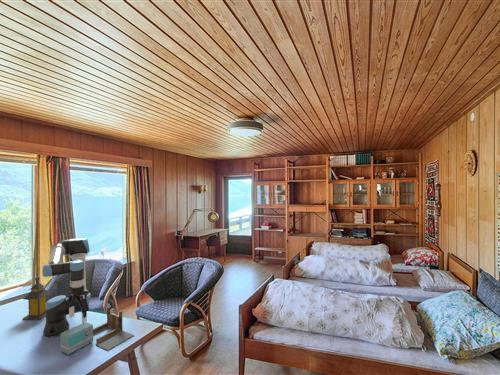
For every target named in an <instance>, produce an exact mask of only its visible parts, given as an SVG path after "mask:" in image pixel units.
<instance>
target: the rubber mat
mask: <svg viewBox="0 0 500 375" xmlns="http://www.w3.org/2000/svg"><path fill="white" fill-rule="evenodd" d="M133 337H135V335H134V334H133V333H129V332H127V331H125V330H122V331H120V332H118V333H117V334H115V335H113V336H111V337H109V338H107V339H105V340H103V341H102V342H100V343H98V344H97V343H96V344H95V346H96V347H98V348H101V349H103V350H104V351H106V352H109V351H110V350H112V349H114V348H116V347H118V346H119V345H121V344H122V342H123V343H125V342H126V341H127V340H129V339H131V338H133ZM115 346H116V347H115ZM108 350H109V351H108Z"/></svg>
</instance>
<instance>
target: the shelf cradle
mask: <svg viewBox="0 0 500 375" xmlns="http://www.w3.org/2000/svg"><path fill="white" fill-rule="evenodd" d="M108 326H109V327H108ZM106 327H107V328H110V327H111V328H110V329H113V328H114V329H113V330H111V331H108V332H107V333H105V334H103V335H100V336H99V337H97V338H96V340H95V341H96V342H95V343H96V344H98V343H100V342H102V341H103V340H105V339H107V338H109V337H111V336H113V335H115V334H117V333H118V332H120V331H122V330H123V310H119V311H118V314H116V313H114V312H111V306H106V322H104V323H102V324H101V325H98V326H96V327H93V335H94V334H97V333H99V332H101V331H103V330H105V329H107V328H106ZM123 331H124V330H123Z"/></svg>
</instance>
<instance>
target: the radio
mask: <svg viewBox="0 0 500 375" xmlns="http://www.w3.org/2000/svg"><path fill="white" fill-rule="evenodd" d="M93 329H94V325H93V324H92V323H90V322H87V321H86V322H84V323H82V322H81V323H80V324H78V325H76V326H74V327H72V328H69V330H67V331H65V332H63V333H61V334H60V335H59V336H60V352H62V353H64V354H66V355H68V356H69V355H71V354H73V353H75V352H76V351H78V350H80V349H82V348H84V347H85V346H87V345H90V344H91V343H92V342H94V334H93Z"/></svg>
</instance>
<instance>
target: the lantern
mask: <svg viewBox="0 0 500 375" xmlns="http://www.w3.org/2000/svg"><path fill="white" fill-rule="evenodd" d="M34 280H35V284H34V285H33V286H32V287H31V288H30V292H29V293H28V294H27V295H26V296H25V297H23V298H22V299H23V300H28V301H27V302H28V314H27V315H25V316H24V317H23V318H22V321H41V320H43V319H44V318H46V310H45V308H46V302H47V301H48V300H47V298H48V297H47V296H48V295H50V294H52V291H49V290H48V289H46V288H45V289H44V287H45V285H44V284H42V283H39V281H40V277H39V276H36V277H35V278H34Z"/></svg>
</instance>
